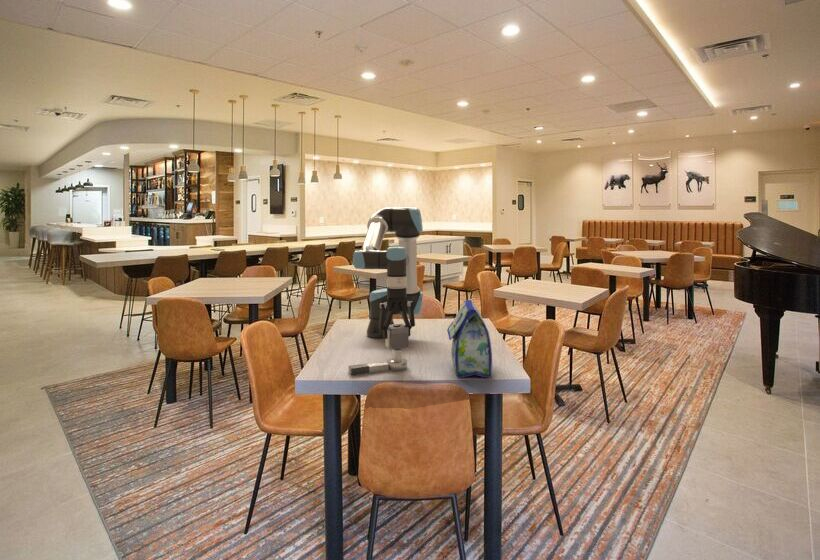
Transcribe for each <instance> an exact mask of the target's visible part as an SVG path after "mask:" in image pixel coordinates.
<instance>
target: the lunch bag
mask: <svg viewBox="0 0 820 560" xmlns="http://www.w3.org/2000/svg"><path fill="white" fill-rule="evenodd" d="M447 335H448V340H449V341H450V340H451V341H452V342H451V348H450V349H451V352H450V354H451V358H452V359H451V360H452V364H453V368H454V369H453V370H454V372H455V376H456V377H457V378H461V377H462V378H466V377H470V376H474V375H475V376H478V377H481V378H482V377H483V378H487V377H488V378H490V377H492V373H493V351H492V350H493V348H492V342H491V336H490V335H491V334H490V333H489V329H488V327H487V325H486V323H485V320H484V318H483V316H482V314H481V313H480V311H479V309H478V307H477V305H476V304H475V303H474V302H473V301H472V300H470V299H466V300H464V301H463V302H462V305H461V307H459V310H458V312H457V314H456V316H455V317H454V319H453V320H452V322H451V323H450V325H448V327H447Z"/></svg>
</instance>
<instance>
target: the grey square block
mask: <svg viewBox="0 0 820 560" xmlns="http://www.w3.org/2000/svg"><path fill="white" fill-rule="evenodd" d="M388 330H389V331H390V347H389V348H388V349H390V350H392V349H408V348H410V347H409V346H410V343H409V341H410V340H409V337H410V336H409V327H407V326H405V324H403V323H394V324H392V325H389V327H388ZM384 340H385V346H386V339H384Z"/></svg>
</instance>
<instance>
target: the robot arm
mask: <svg viewBox="0 0 820 560" xmlns="http://www.w3.org/2000/svg"><path fill="white" fill-rule="evenodd" d="M366 226H367V232H366V235H365V238H364V241H363V244H362V246H361V249H359V250H355V251H354V252H353V255H352V263H353V267H354V268H355V269H357V270H386V286H387V288H381V289H376V290H372V291H370V294H369V322H368V326H367V329H366V336H367V337H368V338H372V339H384V340H385V339H386V345H385V347H386V348H388V349H390V348H389V347H390V331H389V330H388V327H389V325H392V324H395V321H394V316H400V315H401V318H402V319H403V322H404V325H405V326H407V327H409V337H411V329H412V328H414V327H415V326H416V322H415V316H418V315H420V314H421V310H422V305H423V304H422V303H423V297H424V292H423V291H421V288H420V287H419V286H418V260H417V256H418V255H417V254H418V253H417V252H418V251H417V250H418V248H417V246H418V245H417V239H418V238H419V237H420V235H421V234H420V233H423V219H422V213H421V211H420V209H419V208H418V207H411V206H405V207H404V206H402V207H401V206H400V207H390V206H389V207H384V208H381V209H379V210H377V211H376V212H375V213H373V214H372V215H371V216H370V217H369V219H368V221H367V224H366ZM386 233H394V234H395V237H396V239H398V246H390V247H387V249H386V250H381V247H382V243H383V240H384V237H385V234H386Z"/></svg>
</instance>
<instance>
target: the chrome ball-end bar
mask: <svg viewBox="0 0 820 560" xmlns="http://www.w3.org/2000/svg"><path fill="white" fill-rule="evenodd" d="M388 370H389V371H391V372H403V370H404V371H406V370H408V360H407V359H406V358H404V357H403V349H402V348H400V349H391V358H388V359H386V361H385V362H377V363H369V364H368V363H360V364H351V365H348V374H349V375H350V376H357V374H359V375H366V374H365V373H367V374H371V373H370V372H373V373H379V371H381V372H388Z"/></svg>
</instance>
